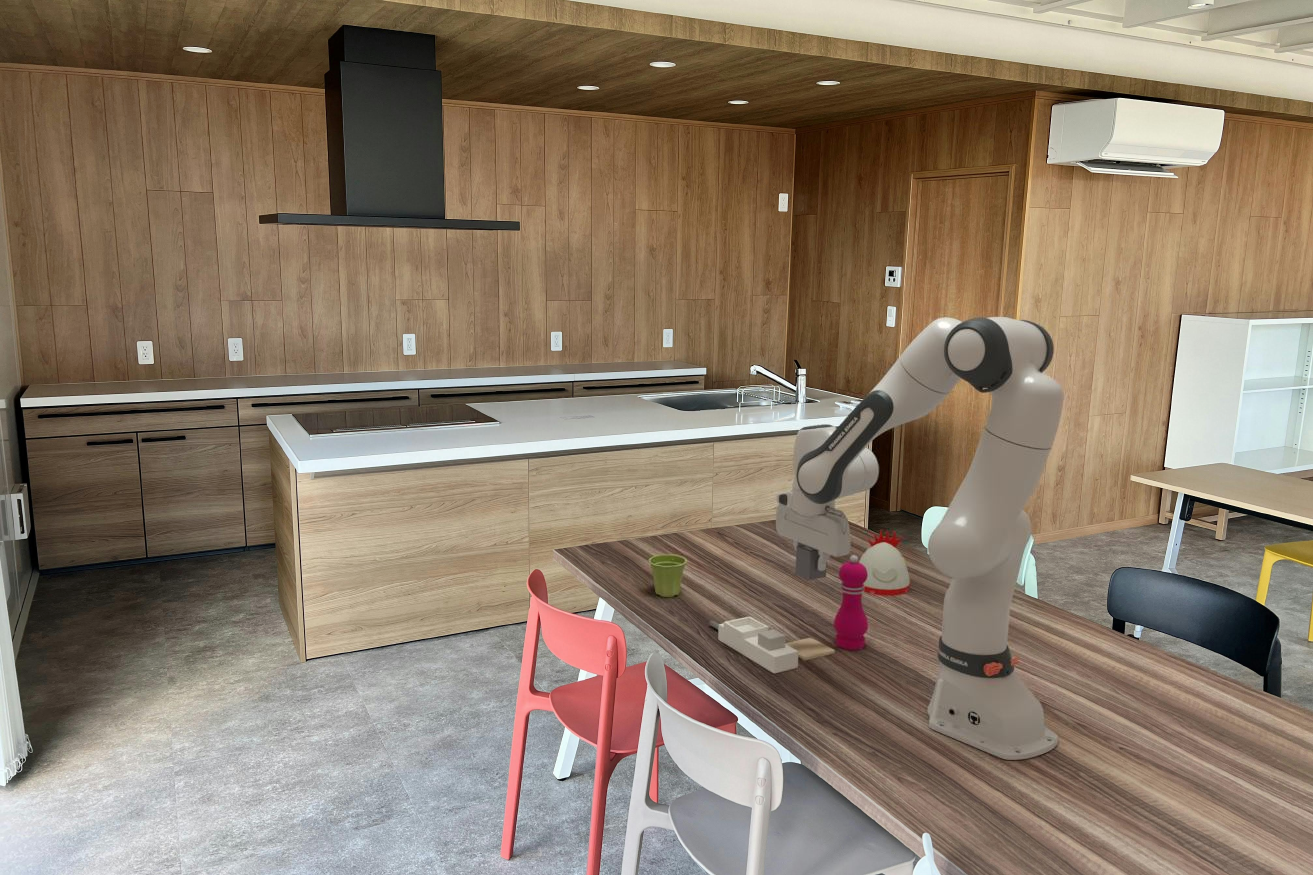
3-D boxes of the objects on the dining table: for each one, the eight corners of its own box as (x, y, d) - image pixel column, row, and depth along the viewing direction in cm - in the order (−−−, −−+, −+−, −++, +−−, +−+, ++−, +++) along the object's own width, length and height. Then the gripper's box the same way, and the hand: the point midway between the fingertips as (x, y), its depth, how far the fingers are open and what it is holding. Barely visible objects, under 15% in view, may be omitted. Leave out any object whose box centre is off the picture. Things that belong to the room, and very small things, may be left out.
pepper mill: (867, 652, 194) (871, 561, 191) (832, 649, 196) (836, 559, 192) (866, 639, 201) (871, 551, 198) (833, 636, 203) (836, 549, 199)
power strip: (799, 666, 187) (800, 639, 186) (772, 674, 183) (773, 645, 182) (723, 622, 210) (723, 597, 209) (697, 628, 207) (698, 603, 206)
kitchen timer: (912, 597, 228) (915, 539, 226) (855, 593, 231) (858, 536, 228) (906, 579, 242) (909, 524, 239) (852, 576, 244) (855, 521, 242)
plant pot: (686, 600, 225) (687, 566, 224) (648, 599, 225) (648, 565, 224) (686, 587, 234) (686, 554, 233) (649, 586, 235) (649, 554, 233)
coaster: (834, 652, 194) (834, 650, 194) (805, 660, 190) (805, 657, 190) (810, 639, 201) (810, 637, 201) (781, 647, 197) (781, 644, 197)
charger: (826, 576, 192) (827, 548, 191) (809, 580, 190) (810, 551, 188) (812, 570, 196) (813, 542, 195) (795, 573, 193) (796, 545, 192)
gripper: (859, 510, 183) (856, 577, 185) (794, 490, 200) (792, 551, 202) (835, 514, 179) (832, 582, 182) (771, 493, 197) (769, 555, 199)
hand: (810, 565), depth 192 cm, fingers closed on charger, 4 cm apart
